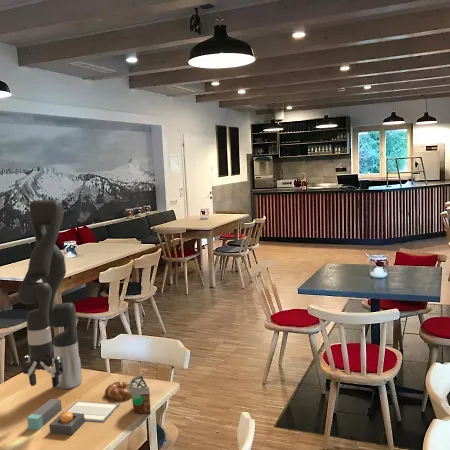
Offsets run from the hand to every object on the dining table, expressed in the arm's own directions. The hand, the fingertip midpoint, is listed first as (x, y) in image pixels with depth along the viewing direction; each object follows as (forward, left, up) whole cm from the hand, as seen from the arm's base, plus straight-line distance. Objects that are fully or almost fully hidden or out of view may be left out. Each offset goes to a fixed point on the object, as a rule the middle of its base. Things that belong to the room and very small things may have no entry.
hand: (44, 385), depth 168 cm
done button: (+5, +11, -10) cm, 15 cm away
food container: (-10, +30, -12) cm, 34 cm away
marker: (+1, 0, -12) cm, 12 cm away
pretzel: (-20, +18, -12) cm, 30 cm away
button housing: (+5, +11, -12) cm, 17 cm away
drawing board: (-6, +13, -12) cm, 18 cm away
